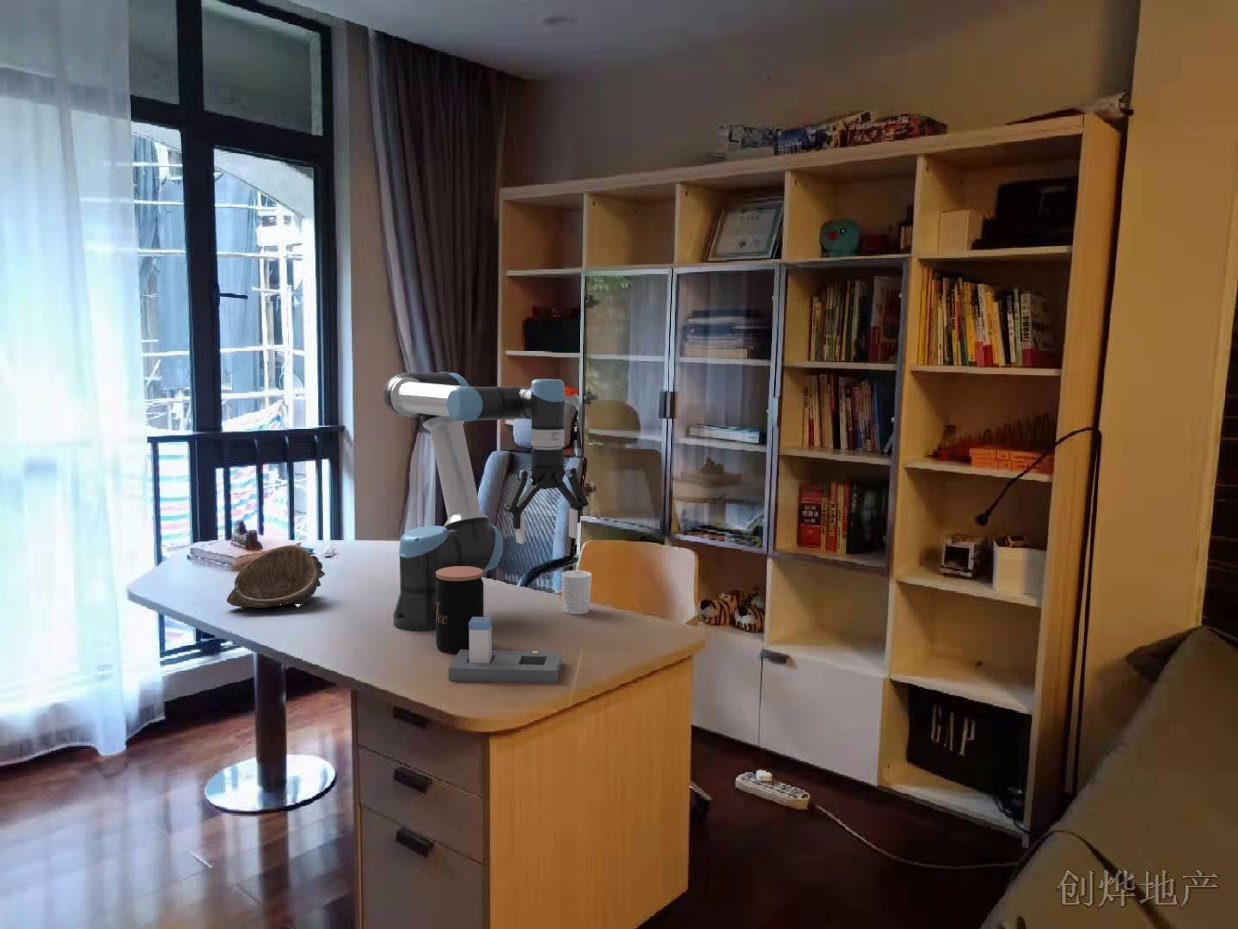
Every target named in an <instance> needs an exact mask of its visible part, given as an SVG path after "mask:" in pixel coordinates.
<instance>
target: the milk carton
mask: <svg viewBox="0 0 1238 929" xmlns="http://www.w3.org/2000/svg"><path fill="white" fill-rule="evenodd" d="M492 625H493V617H491V616H484V617H472V618H471V620H470V621H469V663H483V664H491V663H492V650H493V649H492V646H493V645H492V639H493V638H492V636H493V635H492V627H493V626H492Z"/></svg>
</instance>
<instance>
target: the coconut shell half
mask: <svg viewBox="0 0 1238 929" xmlns="http://www.w3.org/2000/svg"><path fill="white" fill-rule="evenodd" d="M323 568H324V567H323V563H322V562H321V561H320V560H319V558H318V557H317V556H316V555H311V553H309V552H308V550H306V549H305V548H304V547H303V546H300V545H299V546H298V545H294V544H293V545H292V544H290V545H283V546H278V547H275V548H273V549H270V550H268V551H266V552H264V553H262V554H261V555H259V556H257V557H255V558H254V559H252V560H251V561H250V562H249V563H247V564H246V565H244V567H243V568H242V569H241V570H240V571H239V572H238V574H237V576H236V577H235V579H234V582H233V583H234V588H233V589H232V591H231V592H230V593H229V594H228V596H227V598H226V602H227V603H228V604H229V605H231V606H232V607H238V608H240V607H241V608H242V607H248V608H247V609H250V608H249V607H255V608H254V609H263V607H264V609H265V608H271V606H272V607H276V606H280V604H281V605H283V606H285V605H290V604H294V605H295V604H300V605H301V604H303V605H304V604H305V603H307V602H308V601H309V600H310V599H311V598H312V597H313V596H314V595H315V593H316V590H317V588H319V587H321V586H322V584H321V582H320V579H321V578H323V577H325V576H326V572H324V571H323ZM301 606H302V605H301Z"/></svg>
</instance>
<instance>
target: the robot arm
mask: <svg viewBox="0 0 1238 929" xmlns="http://www.w3.org/2000/svg"><path fill="white" fill-rule="evenodd" d="M382 400H383V403H384V405H385V407H386V408H387V410H389V412H390V413H392V414H394V415H396V416H397V417H398V416H399V417H403V418H421V422H422V426H423V428H425V429H426V430H428V432H430V437H431V442H432V446H433V451H434V456H435V461H436V466H437V471H438V476H439V479H440V480H439V481H440V487H441V490H442V495H443V501H444V505H445V511H446V515H447V520H446V522H445V524H444V525H443V526H441V525H431V526H422V527H421V526H420V527H417V528H416V527H415V528H413V529H410V530H408V531H406V532H404V534H402V535H401V537H400V539H399V549H398V554H399V555H398V556H399V589H400V590H399V595H398V598H397V602H396V605H395V608H394V611H393V614H392V617H393V618H392V620H393V621H392V622H393V625H394V626H395V627H397V628H399V629H401V630H403V629H404V630H408V631H430V630H436V582H437V580H438V578H437V577H436V571H437V570H439V569H442V568H446V567H454V566H470V567H476V568H480V569H482V570H483V572H486V571H491V570H493V569H494V568H496V567H497V565H498V564H499V562H500V561H501V558H502V556H503V550H504V541H503V536H502V533H501V530H499V528H498V527H497V526H496V525H493V524H490V521H489V520H490V519H489V516H487V515H486V514H484V513H483V512H482V509H481V507H480V502H479V495H478V491H477V487H476V482H475V478H474V473H473V469H472V462H471V460H470V459H471V457H470V453H469V450H468V445H467V444H468V443H467V439H466V435H465V430H464V423H465V422H474V421H475V422H476V421H489V420H491V421H492V420H493V421H496V420H497V421H498V420H500V421H501V420H521V419H522V420H531V422H530V423H531V424H530V426H531V427H530V429H531V430H530V439H531V440H530V445H531V446H532V447H533V448H531V450H530V464H531V469H530V470H523V469H519V470H518V472H517V479H516V481H515V484H514V486H513V488H512V490H511V494H510V495H509V498H508V500H507V502H506V504H505V507H504V510H505V512H507V513H510V514H512V527H513V529H514V530H515V542H516V543H517V544H520V545H525V540H526V539H525V538H526V537H525V535H526V534H525V533H526V531H525V525H526V524H525V523H526V522H525V521H526V520H525V514H523V512H524V511H525V509H526V508H527V506H528V505H529V504H530V502H531V501H532V500H533V498H534V497H535V496H536V494H537V493H538V492H539V491H540V490H541V489H542V490H548V489H552V490H554V489H558V491H559V492H560V494H561V496H563V497H564V499H565V500H566V501H567V503H568V504H569V505H570V506H571V507H572V508H569V509H568V537H569V538H572V539H578V524H580V523H581V511H583V510H584V507H588V506H589V502H588V500H587V497H586V494H585V492H584V490H583V488H582V486H581V484H580V480H579V479H578V474H577V469H576V467H572V466H568V467H566V468H564V466H565V449H564V448H563V447H564V446H565V421H566V419H565V418H566V417H565V416H566V391H565V382H564V381H563V380H562V379H558V378H557V379H554V378H553V379H551V378H536V379H533V380H532V381H531V386H523V385H509V386H471V385H469V384H468V382H467V380H466V379H465V378H464V377H463V376H461V374H458V373H455V372H448V371H440V372H403V373H399V374H397V375H394V376H393V377H391V378H390V379H389V380H388V381H387V382H386V383H385V385H384V388H383V391H382ZM564 477H566V478H567V480H568V482H569V485H570V487H571V489H572V491H573V493H572V492H571V491H570V489H569V488H568V487H567V485H566V483H565V481H563V479H564ZM530 478H531V482H530V483H529V484H528V487H527V489H526V490H525V487H526V485H527V482H528V480H530ZM524 490H525V492H524ZM523 492H524V493H523Z"/></svg>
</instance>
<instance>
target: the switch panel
mask: <svg viewBox="0 0 1238 929" xmlns="http://www.w3.org/2000/svg"><path fill="white" fill-rule="evenodd" d="M561 666H562V651H544V650H541V651H540V650H503V649H501V650H499V649H498V650H497V649H492V663H491V664H483V663H469V650H465V649H460V651H459V652H458V654H456V655H455V657H454V658H453V660H452V662H451V663H450V665H449V667H448V668H447V670H448V671H447V672H448V675H447V676H448V681H463V682H464V681H469V682H506V683H507V682H508V683H509V682H510V683H539V684H540V683H541V684H542V683H546V684H549V683H550V684H555V683H557V680H558V678H559V674H560V673H559V672H560V669H561Z"/></svg>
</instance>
